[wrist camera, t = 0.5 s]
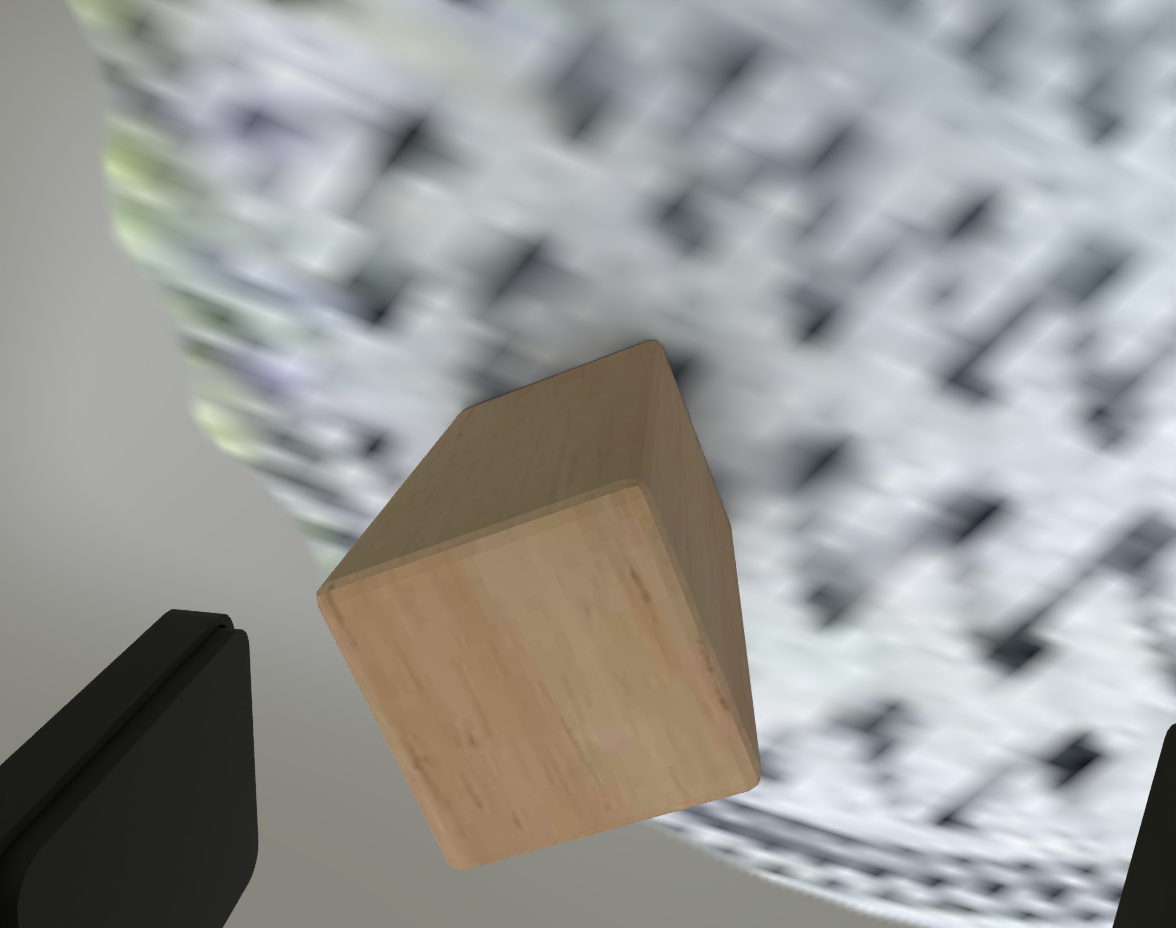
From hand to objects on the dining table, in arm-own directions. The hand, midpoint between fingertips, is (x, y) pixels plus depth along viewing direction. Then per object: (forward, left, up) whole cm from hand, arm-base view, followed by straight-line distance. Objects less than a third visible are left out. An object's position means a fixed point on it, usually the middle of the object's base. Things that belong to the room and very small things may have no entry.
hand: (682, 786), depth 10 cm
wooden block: (+9, -4, -36) cm, 37 cm away
